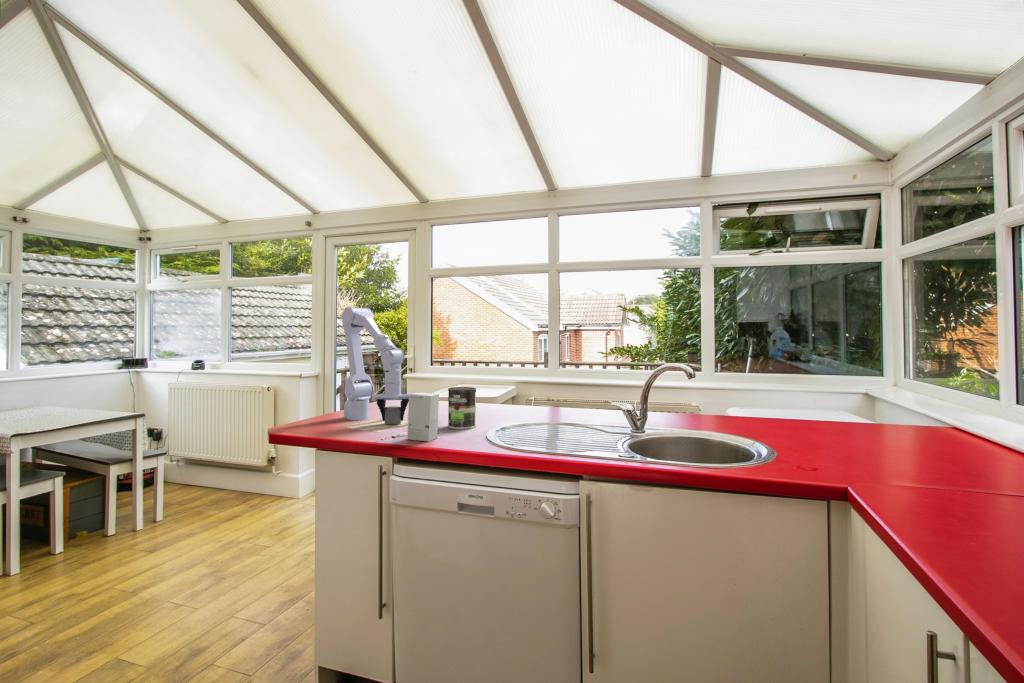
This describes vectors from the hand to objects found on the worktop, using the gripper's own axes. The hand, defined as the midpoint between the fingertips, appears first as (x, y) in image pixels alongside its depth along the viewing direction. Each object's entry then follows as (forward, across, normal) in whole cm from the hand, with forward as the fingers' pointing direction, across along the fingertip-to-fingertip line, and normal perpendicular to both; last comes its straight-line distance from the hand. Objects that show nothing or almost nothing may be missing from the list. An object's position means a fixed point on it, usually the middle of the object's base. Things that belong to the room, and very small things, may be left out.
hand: (393, 420), depth 171 cm
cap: (+1, 0, 0) cm, 1 cm away
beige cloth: (+3, -4, 0) cm, 5 cm away
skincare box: (+3, +12, -18) cm, 22 cm away
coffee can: (+3, +25, +1) cm, 25 cm away
